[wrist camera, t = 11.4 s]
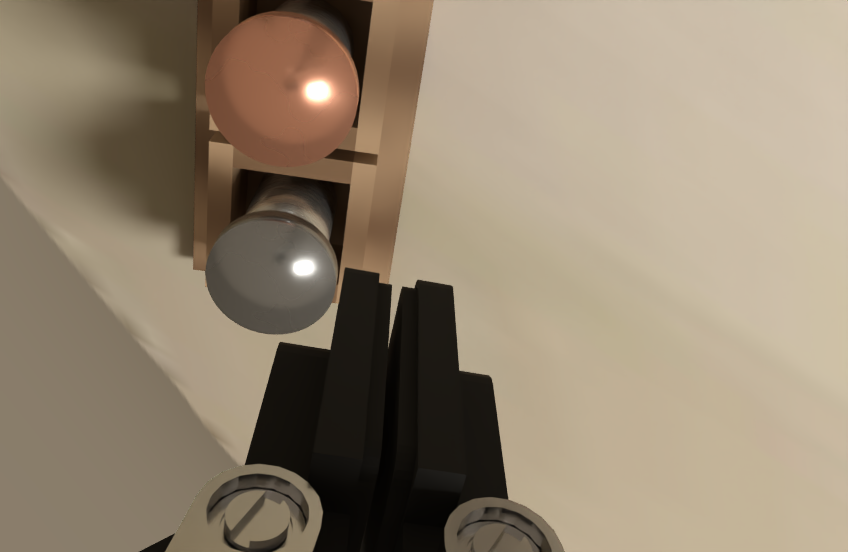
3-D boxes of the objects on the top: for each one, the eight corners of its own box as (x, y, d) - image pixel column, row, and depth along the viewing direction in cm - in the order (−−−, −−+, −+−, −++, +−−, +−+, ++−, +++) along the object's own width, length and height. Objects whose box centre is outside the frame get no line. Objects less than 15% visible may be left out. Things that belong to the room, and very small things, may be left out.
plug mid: (252, -29, 30) (206, 4, 23) (375, -8, 31) (366, 30, 24) (246, 93, 33) (203, 155, 26) (360, 110, 33) (348, 176, 26)
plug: (247, 141, 35) (206, 212, 28) (355, 157, 35) (342, 231, 28) (242, 238, 37) (203, 326, 30) (343, 251, 37) (328, 341, 30)
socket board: (211, -336, 28) (172, -375, 23) (476, -282, 29) (490, -309, 24) (198, 258, 40) (171, 310, 35) (387, 283, 40) (384, 336, 36)
